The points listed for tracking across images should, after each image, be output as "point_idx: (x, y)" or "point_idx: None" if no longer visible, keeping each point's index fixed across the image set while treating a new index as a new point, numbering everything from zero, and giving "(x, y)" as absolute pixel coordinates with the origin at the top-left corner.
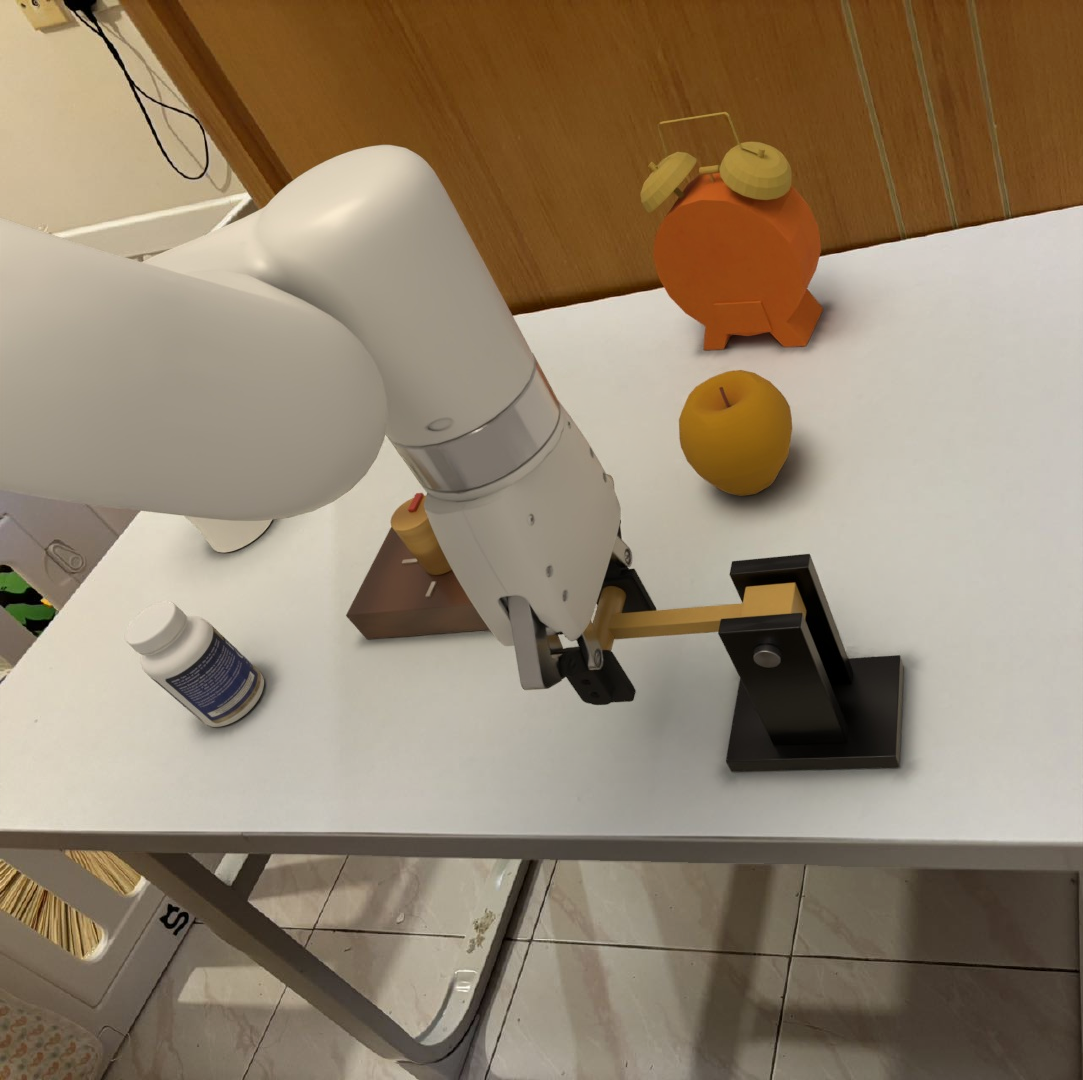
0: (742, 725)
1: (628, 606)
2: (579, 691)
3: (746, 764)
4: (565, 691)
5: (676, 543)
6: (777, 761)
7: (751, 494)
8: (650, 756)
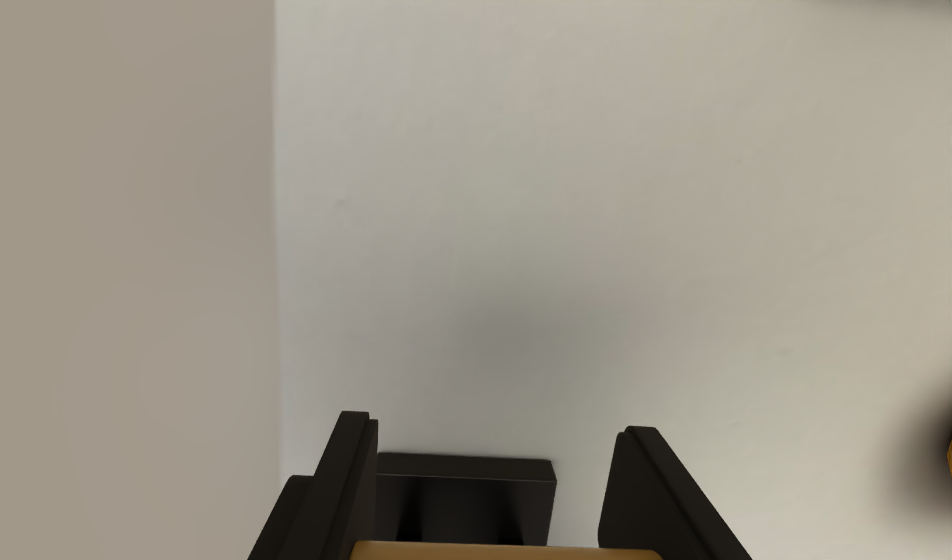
0: (436, 492)
1: None
2: (269, 517)
3: None
4: (591, 124)
5: (897, 310)
6: None
7: (949, 447)
8: (417, 324)
